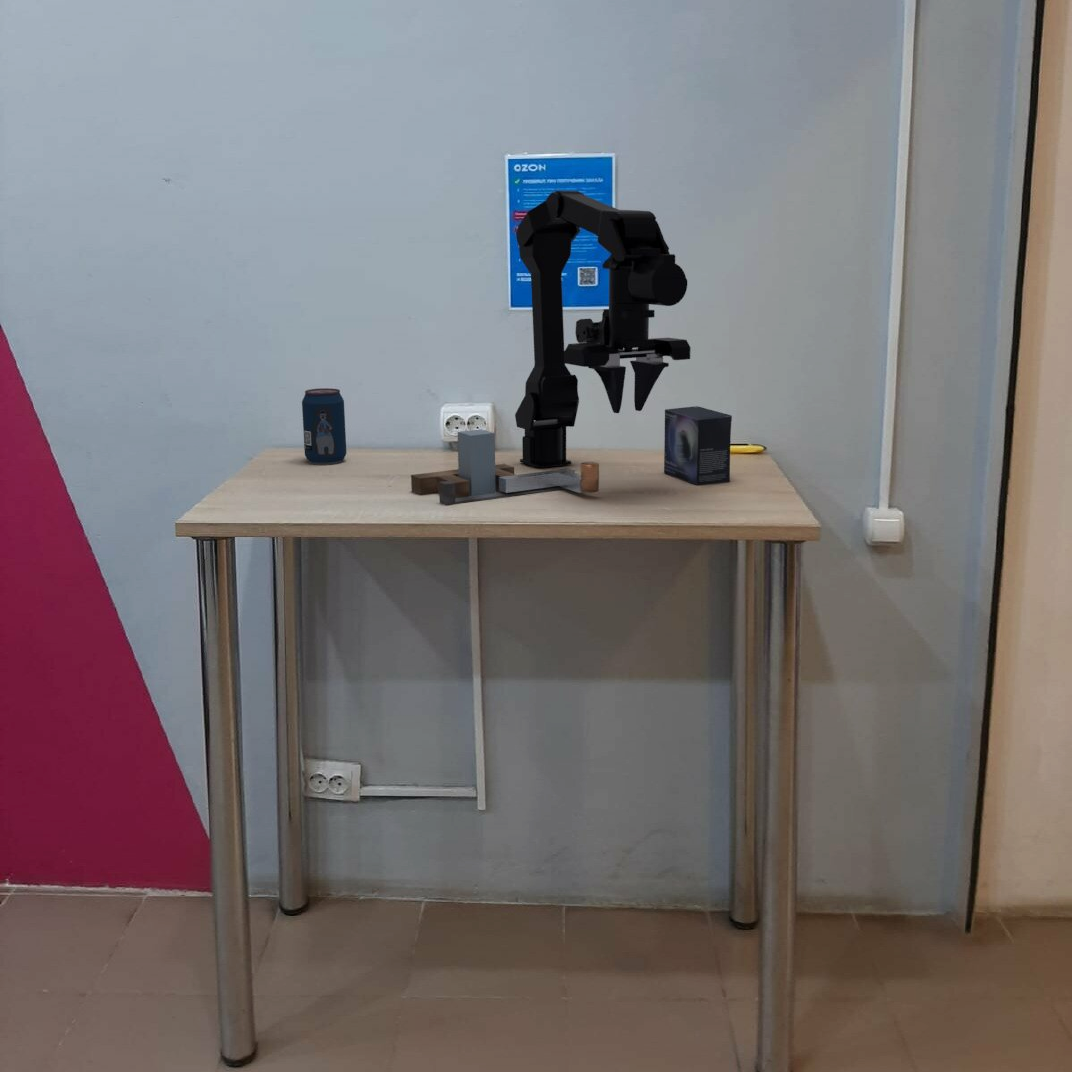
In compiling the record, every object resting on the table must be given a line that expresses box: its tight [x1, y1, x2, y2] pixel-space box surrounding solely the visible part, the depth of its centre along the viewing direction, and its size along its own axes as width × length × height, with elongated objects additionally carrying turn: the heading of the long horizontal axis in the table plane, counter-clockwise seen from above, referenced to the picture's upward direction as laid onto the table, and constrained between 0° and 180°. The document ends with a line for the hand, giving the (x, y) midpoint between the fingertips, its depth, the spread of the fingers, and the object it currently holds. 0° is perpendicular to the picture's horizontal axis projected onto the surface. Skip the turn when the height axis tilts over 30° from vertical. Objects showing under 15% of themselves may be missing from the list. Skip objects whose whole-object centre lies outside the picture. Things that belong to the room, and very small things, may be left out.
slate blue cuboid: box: [457, 428, 497, 496], centre depth 173 cm, size 4×4×9 cm
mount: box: [410, 463, 567, 506], centre depth 175 cm, size 22×11×3 cm, turn 121°
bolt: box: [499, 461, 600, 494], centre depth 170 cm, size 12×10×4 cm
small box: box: [663, 405, 733, 486], centre depth 182 cm, size 11×6×10 cm, turn 23°
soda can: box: [301, 387, 347, 465], centre depth 196 cm, size 7×7×12 cm
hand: (627, 411), depth 170 cm, fingers open, 4 cm apart
